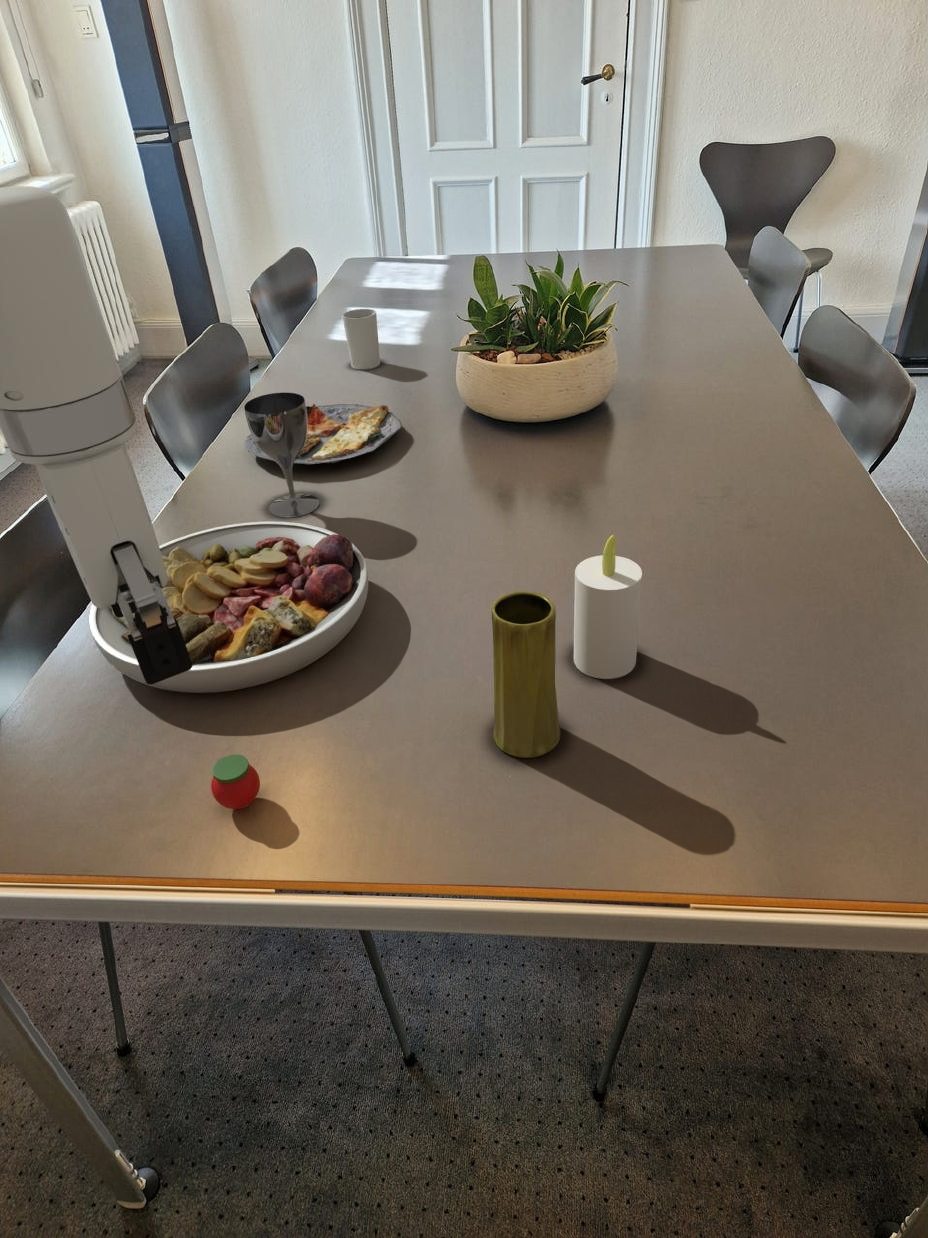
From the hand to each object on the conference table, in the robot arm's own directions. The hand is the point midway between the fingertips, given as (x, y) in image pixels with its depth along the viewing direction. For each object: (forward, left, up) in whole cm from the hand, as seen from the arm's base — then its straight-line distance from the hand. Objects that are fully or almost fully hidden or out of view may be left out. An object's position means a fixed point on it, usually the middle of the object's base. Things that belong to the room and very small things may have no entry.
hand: (152, 640), depth 61 cm
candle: (+41, -2, -19) cm, 45 cm away
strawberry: (+3, 0, -19) cm, 19 cm away
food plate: (+40, +69, -19) cm, 82 cm away
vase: (+28, -7, -19) cm, 34 cm away
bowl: (+12, +27, -19) cm, 35 cm away
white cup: (+63, +101, -19) cm, 121 cm away
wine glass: (+28, +51, -19) cm, 61 cm away
